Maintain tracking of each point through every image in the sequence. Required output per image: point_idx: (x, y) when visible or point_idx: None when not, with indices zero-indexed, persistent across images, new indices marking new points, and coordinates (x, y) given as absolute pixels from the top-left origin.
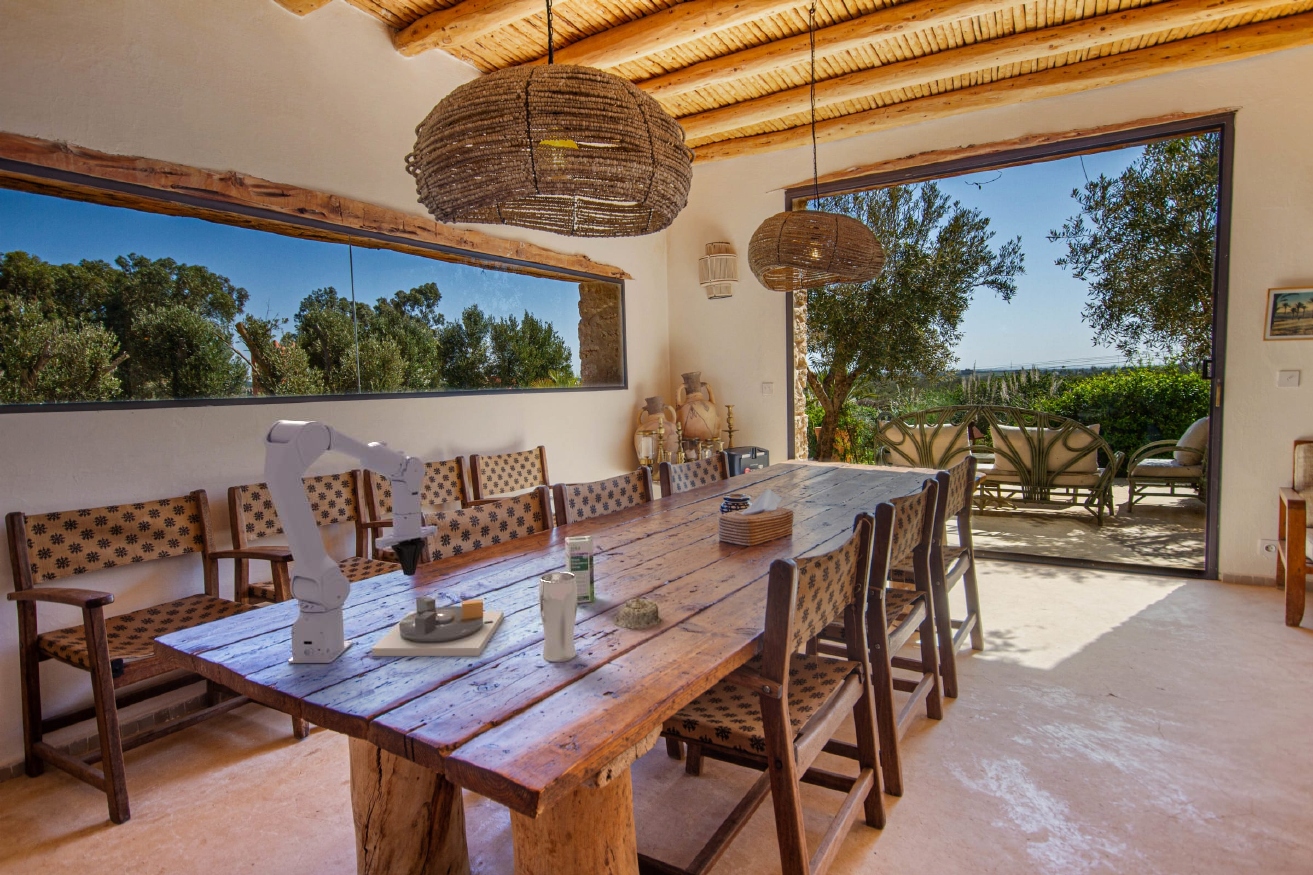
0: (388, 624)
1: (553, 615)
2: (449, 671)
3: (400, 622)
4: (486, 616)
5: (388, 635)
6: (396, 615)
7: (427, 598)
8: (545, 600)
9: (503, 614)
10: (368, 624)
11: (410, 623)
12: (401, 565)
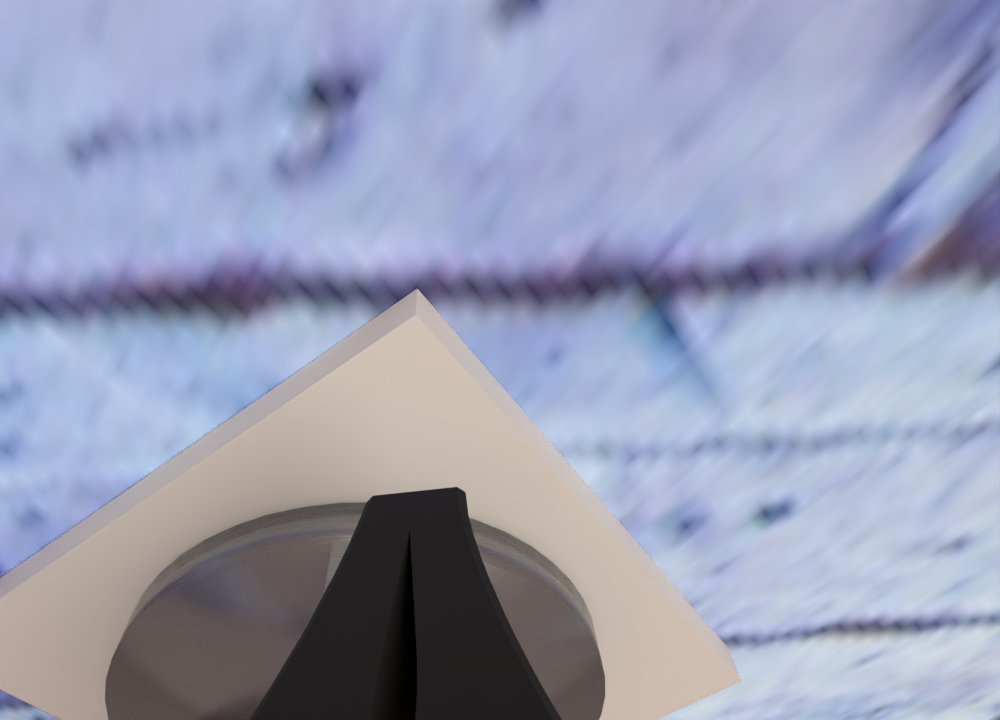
0: (223, 270)
1: None
2: None
3: (144, 618)
4: (632, 682)
5: (72, 573)
6: (375, 131)
7: None
8: None
9: (733, 663)
10: (84, 134)
11: (190, 663)
12: (322, 608)
